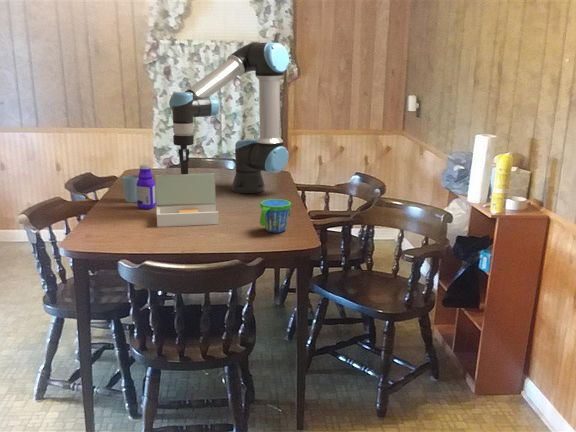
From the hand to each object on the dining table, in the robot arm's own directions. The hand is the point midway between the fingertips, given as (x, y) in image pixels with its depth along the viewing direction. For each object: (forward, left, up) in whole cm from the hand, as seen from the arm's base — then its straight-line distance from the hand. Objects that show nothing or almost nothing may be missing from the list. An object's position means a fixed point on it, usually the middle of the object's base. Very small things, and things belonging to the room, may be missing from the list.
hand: (185, 195), depth 225 cm
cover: (0, +5, +3) cm, 6 cm away
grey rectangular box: (0, +11, -7) cm, 13 cm away
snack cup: (-30, +28, -8) cm, 42 cm away
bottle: (+15, -11, -8) cm, 20 cm away
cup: (+21, -23, -8) cm, 32 cm away
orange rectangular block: (-1, +9, -8) cm, 12 cm away
